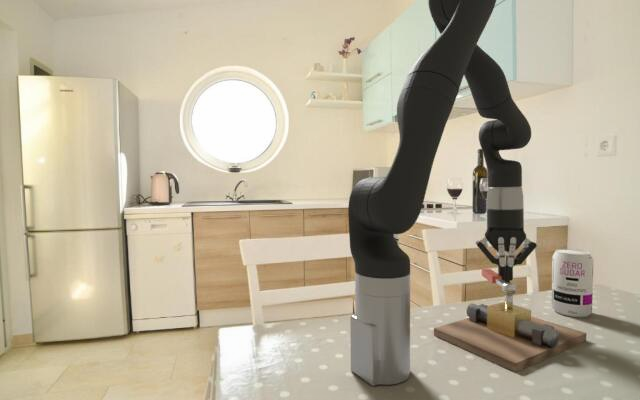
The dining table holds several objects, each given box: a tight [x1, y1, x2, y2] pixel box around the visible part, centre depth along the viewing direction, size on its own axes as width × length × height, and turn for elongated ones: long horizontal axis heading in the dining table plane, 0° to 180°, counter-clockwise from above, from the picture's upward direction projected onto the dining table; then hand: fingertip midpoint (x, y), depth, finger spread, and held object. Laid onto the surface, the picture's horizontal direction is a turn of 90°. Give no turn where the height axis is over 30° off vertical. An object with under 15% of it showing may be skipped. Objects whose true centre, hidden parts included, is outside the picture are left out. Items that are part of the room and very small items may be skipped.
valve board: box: [433, 315, 587, 373], centre depth 77 cm, size 24×18×2 cm
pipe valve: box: [466, 293, 559, 347], centre depth 77 cm, size 6×18×9 cm, turn 31°
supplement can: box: [551, 248, 594, 318], centre depth 92 cm, size 8×8×15 cm
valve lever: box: [481, 268, 517, 295], centre depth 83 cm, size 15×3×2 cm, turn 175°
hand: (505, 282), depth 86 cm, fingers closed
